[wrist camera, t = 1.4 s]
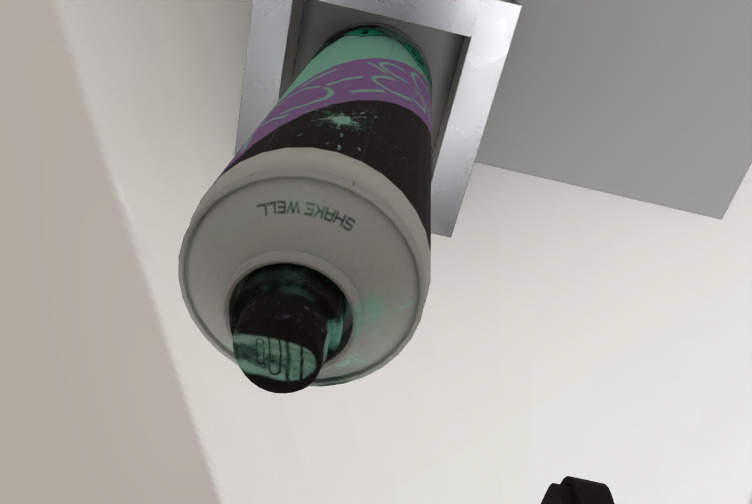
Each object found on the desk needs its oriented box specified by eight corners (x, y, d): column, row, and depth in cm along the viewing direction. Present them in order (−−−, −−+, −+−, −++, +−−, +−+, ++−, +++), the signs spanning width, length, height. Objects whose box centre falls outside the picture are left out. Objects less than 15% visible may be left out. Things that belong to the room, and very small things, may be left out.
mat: (554, -142, 25) (558, -144, 24) (855, -66, 25) (871, -65, 24) (466, 152, 30) (467, 160, 29) (713, 210, 31) (721, 219, 30)
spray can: (452, 111, 30) (481, 415, 12) (348, 163, 31) (237, 501, 13) (395, -3, 27) (328, 163, 10) (287, 60, 29) (62, 299, 11)
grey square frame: (276, -62, 27) (259, -58, 24) (513, -4, 27) (521, 6, 24) (247, 163, 31) (230, 186, 29) (449, 209, 32) (451, 237, 29)
